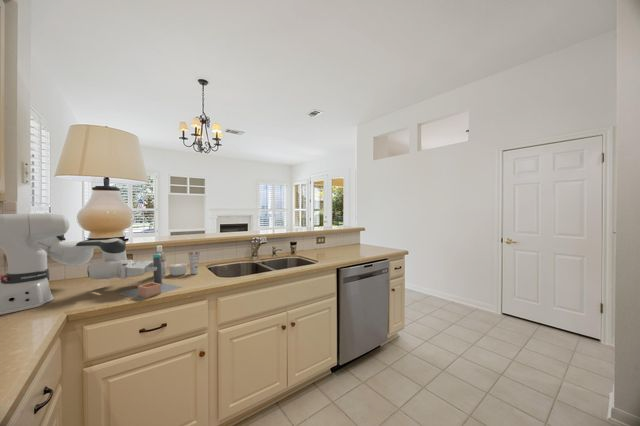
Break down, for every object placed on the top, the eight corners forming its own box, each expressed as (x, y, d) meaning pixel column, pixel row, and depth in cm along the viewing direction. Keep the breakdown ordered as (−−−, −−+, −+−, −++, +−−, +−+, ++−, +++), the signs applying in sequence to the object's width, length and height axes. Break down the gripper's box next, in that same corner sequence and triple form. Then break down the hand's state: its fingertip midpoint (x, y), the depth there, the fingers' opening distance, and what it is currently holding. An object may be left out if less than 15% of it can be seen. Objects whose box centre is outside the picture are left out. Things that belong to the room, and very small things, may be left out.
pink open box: (146, 297, 113) (146, 288, 113) (138, 295, 116) (137, 286, 116) (161, 293, 119) (161, 284, 119) (152, 291, 122) (152, 282, 121)
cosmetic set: (200, 271, 162) (200, 242, 162) (200, 275, 154) (199, 244, 153) (154, 275, 152) (154, 245, 151) (151, 279, 143) (151, 247, 143)
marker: (156, 286, 130) (155, 255, 129) (151, 284, 131) (151, 254, 131) (163, 283, 133) (163, 254, 133) (159, 283, 135) (158, 253, 134)
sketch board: (140, 301, 110) (140, 300, 110) (116, 295, 118) (116, 293, 118) (182, 288, 128) (182, 286, 128) (159, 283, 137) (159, 282, 136)
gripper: (134, 269, 137) (163, 267, 142) (120, 280, 118) (154, 277, 123) (134, 258, 137) (163, 256, 142) (119, 267, 118) (153, 264, 123)
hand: (159, 266), depth 132 cm, fingers open, 8 cm apart
